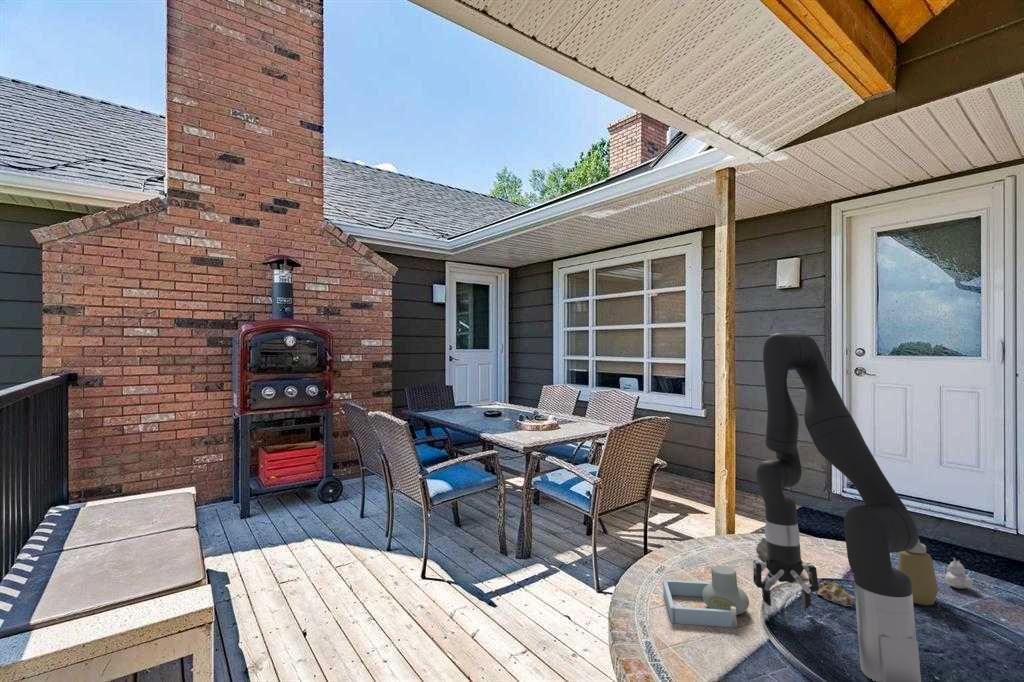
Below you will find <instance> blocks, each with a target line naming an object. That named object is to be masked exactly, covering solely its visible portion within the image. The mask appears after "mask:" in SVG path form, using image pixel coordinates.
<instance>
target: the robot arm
mask: <svg viewBox="0 0 1024 682" xmlns="http://www.w3.org/2000/svg"><path fill="white" fill-rule="evenodd" d="M762 349H763V350H762V359H763V360H762V362H763V364H762V365H763V372H764V373H763V375H764V384H765V392H766V393H765V394H766V405H767V407H766V408H767V412H766V413H767V416H766V418H767V419H766V427H765V428H766V429H765V446H766V448H767V449H769V450H770V451H772V452H775V455H776V456H775V457H776V459H769V460H768V459H767V460H763V461H761V462H760V463H759V464H758V465H757V468H756V472H755V478H756V481H757V484H758V488H759V491H760V494H761V497H762V499H763V502H764V509H765V510H764V511H765V527H764V529H765V533H764V538H766V549H767V561H766V562H764V561H759V560H758V559H754V560H753V567H752V568H753V574H752V575H753V583H754V585H755V586H756V587H757V588H760V589H761V594H762V596H761V597H762V600H763V602H764V603H765V604H766V605H767V606H770V607H771V605H772V599H771V588H772V586H774V585H776V583H777V582H780V583H785V582H788V583H794V582H796V583H797V584H799V586H800V587H801V588H802V589H800V590H801V591H800V592H801V593H800V594H801V604H802V605H801V606H802V607H803V608H804V609H809V607H810V606H811V605H812V601H811V593H812V592H814V591H815V592H816V591H818V590H819V586H818V584H819V580H818V571H817V568H816V566H815V565H814V564H812V563H811V562H807V564H806V563H803V564H801V560H802V555H801V554H802V553H801V541H800V540H801V539H800V531H799V530H800V529H799V526H798V512H797V511H798V510H797V504H796V502H795V500H794V499H792V498H791V497H789V496H785V495H784V492H783V489H785V488H792V487H794V486H796V485H797V484H799V482H800V480H801V477H802V474H803V473H802V465H801V464H802V463H801V459H800V454H799V449H798V440H799V439H798V438H799V435H798V434H799V428H800V427H799V426H800V425H799V424H800V423H799V416H798V411H797V410H796V407H795V405H794V403H793V401H792V399H791V396H790V393H789V389H788V373H789V371H795V372H796V373H797V374H798V376H799V378H800V380H801V382H802V384H803V387H804V389H805V393H806V395H805V396H806V397H805V403H804V404H805V406H804V414H803V415H804V417H803V418H804V424H805V427H806V429H807V430H808V431H807V432H808V434H809V435H810V438H811V439H812V442H813V444H814V446H815V448H816V449H817V451H818V452H819V453H820V455H821V456H823V458H825V460H827V461H828V463H830V464H831V465H832V466H833V467H835V469H836V470H837V471H839V472H840V473H841V474H842V475H844V476H845V477H846V478H847V479H848V480H849V481H850V482H851V483H852V485H853V486H854V487H855V489H856V491H857V492H858V495H860V497H861V500H862V501H863V504H861V505H856V506H855V505H854V506H851V507H850V508H849V509H847V510H846V512H845V514H844V519H843V531H844V538H845V539H844V540H845V546H846V553H847V554H846V555H847V561H848V564H849V568H850V570H851V572H852V575H853V585H854V597H855V600H854V601H855V609H856V610H855V612H856V613H855V614H856V624H857V626H856V627H857V637H858V638H857V639H858V648H859V649H858V651H859V652H858V653H859V662H860V669H861V672H862V673H863V674H864V676H865V677H867V678H868V679H869V680H871V679H872V680H871V681H873V682H874V681H876V682H922V678H921V677H922V676H921V667H920V666H921V664H920V655H919V653H920V652H919V642H918V640H917V634H916V633H917V632H916V622H915V612H914V603H913V594H912V583H911V580H910V578H909V577H908V575H906V574H905V573H903V572H902V571H900V570H898V569H897V568H894V567H893V565H892V560H891V554H892V553H899V552H901V551H908V550H911V549H913V548H914V547H915V546H916V545H917V543H918V538H919V532H918V527H917V524H916V522H915V520H914V518H913V516H912V515H911V514H910V511H909V510H908V508H907V507H906V506H905V504H904V503H903V501H902V500H901V498H900V496H899V495H898V494H897V492H896V491H895V489H894V488H893V486H892V485H891V483H890V482H889V480H888V479H887V477H886V475H885V474H884V473H883V471H882V469H881V467H880V466H879V464H878V462H877V461H876V459H875V456H874V455H873V454H872V452H871V450H870V448H869V447H868V445H867V443H866V441H865V440H864V438H863V435H862V433H861V431H860V429H859V427H858V426H857V423H856V421H855V420H854V418H853V416H852V414H851V413H850V411H849V410H848V408H847V405H846V404H845V403H844V400H843V398H842V397H841V394H840V392H839V391H838V388H837V387H836V385H835V382H834V380H833V378H832V376H831V373H830V371H829V368H828V366H827V364H826V360H825V359H824V356H823V354H822V352H821V350H820V347H819V344H817V342H816V340H815V339H813V337H812V336H810V335H808V334H806V333H800V332H799V333H798V332H797V333H793V332H792V333H791V332H789V333H786V332H784V333H783V332H780V333H779V332H778V333H773V334H771V335H769V336H768V337H767V338H766V340H765V342H764V344H763V348H762ZM765 569H767V570H768V571H767V574H765V577H764V579H763V580H762V572H764V570H765ZM803 571H805V573H806V574H807V576H808V583H807V584H806V582H804V580H803V579H802V578H801V574H803Z"/></svg>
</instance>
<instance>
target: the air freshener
mask: <svg viewBox="0 0 1024 682" xmlns="http://www.w3.org/2000/svg"><path fill="white" fill-rule="evenodd" d="M737 577H738V576H737V571H736V570H735V569H734V568H732V567H729V566H725V565H716V566H713V567H712V568H711V582H712V583H710V584H708V585H707V586H706V587H705V588H704V589H703V592H702V597H701V598H702V600H703V601H704V603H705V604H706V606H707V607H708V608H709V609H721V610H731V608H730V606H734V607H735V608H736V616H738V615H741V614H743V613H745V612H746V611H747V610H748V608H749V605H750V599H749V597H748V595H747V593H745V591H744V590H743V589H742V588H741V587H740V586H738V581H737V580H738V579H737Z"/></svg>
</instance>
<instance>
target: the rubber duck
mask: <svg viewBox="0 0 1024 682" xmlns="http://www.w3.org/2000/svg"><path fill="white" fill-rule="evenodd" d="M947 568H948V571H947V572H946V573H945V581H946V583H947V584H948V585H949V586H950V587H952V588H956V589H957V590H958V589H960V590H961V589H962V590H963V589H972V588H973V582H974V579H972V578H971V577H970V576H968V575H967V574H965V572H966V570H965V567H964V565H963V564H962V563H961V562H960V561H959V560H956V558H955V557H953V561H951V562H950V563H949V565H948V566H947Z"/></svg>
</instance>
